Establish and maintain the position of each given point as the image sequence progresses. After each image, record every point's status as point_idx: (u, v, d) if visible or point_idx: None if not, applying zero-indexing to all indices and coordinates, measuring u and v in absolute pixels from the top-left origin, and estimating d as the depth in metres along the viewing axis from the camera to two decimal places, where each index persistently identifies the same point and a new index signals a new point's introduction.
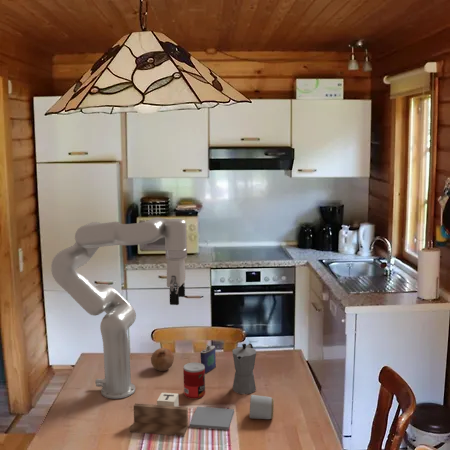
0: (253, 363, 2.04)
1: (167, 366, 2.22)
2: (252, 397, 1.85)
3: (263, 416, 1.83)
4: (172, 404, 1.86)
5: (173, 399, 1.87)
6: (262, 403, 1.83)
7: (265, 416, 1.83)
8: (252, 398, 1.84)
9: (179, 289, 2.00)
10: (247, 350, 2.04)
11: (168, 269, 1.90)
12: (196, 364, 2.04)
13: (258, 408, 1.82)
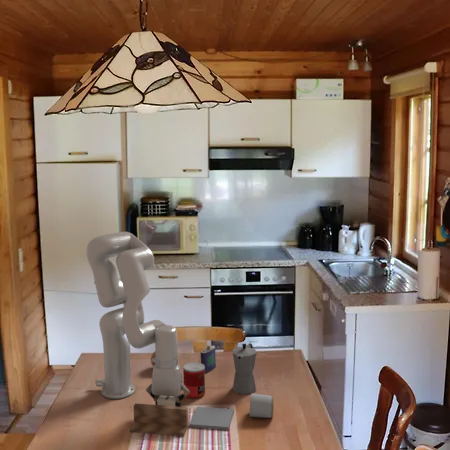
0: (253, 363, 2.04)
1: None
2: (252, 396, 1.86)
3: (263, 415, 1.84)
4: (172, 404, 1.86)
5: (173, 399, 1.87)
6: (262, 402, 1.84)
7: (265, 414, 1.83)
8: (252, 397, 1.85)
9: None
10: (247, 350, 2.04)
11: (179, 377, 1.85)
12: (196, 364, 2.04)
13: (258, 407, 1.83)
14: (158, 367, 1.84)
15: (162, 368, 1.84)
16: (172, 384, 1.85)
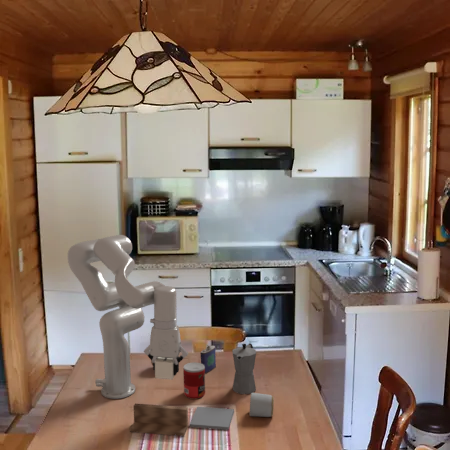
0: (253, 363, 2.04)
1: None
2: (252, 395, 1.86)
3: (263, 414, 1.84)
4: (170, 365, 1.84)
5: (171, 360, 1.85)
6: (262, 401, 1.84)
7: (265, 414, 1.84)
8: (252, 396, 1.86)
9: None
10: (247, 350, 2.04)
11: (177, 338, 1.83)
12: (196, 364, 2.04)
13: (258, 406, 1.84)
14: (156, 327, 1.82)
15: (161, 328, 1.81)
16: (170, 345, 1.83)
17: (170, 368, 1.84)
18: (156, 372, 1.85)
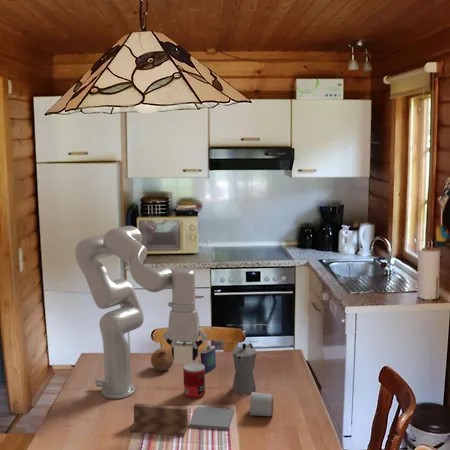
0: (253, 363, 2.04)
1: (167, 366, 2.22)
2: (252, 394, 1.87)
3: (263, 413, 1.85)
4: (189, 349, 1.79)
5: (190, 345, 1.81)
6: (262, 400, 1.85)
7: (265, 413, 1.85)
8: (252, 395, 1.86)
9: None
10: (247, 350, 2.04)
11: (197, 322, 1.79)
12: (196, 364, 2.04)
13: (258, 405, 1.84)
14: (175, 311, 1.78)
15: (179, 312, 1.77)
16: (189, 329, 1.79)
17: (189, 352, 1.80)
18: (175, 357, 1.81)
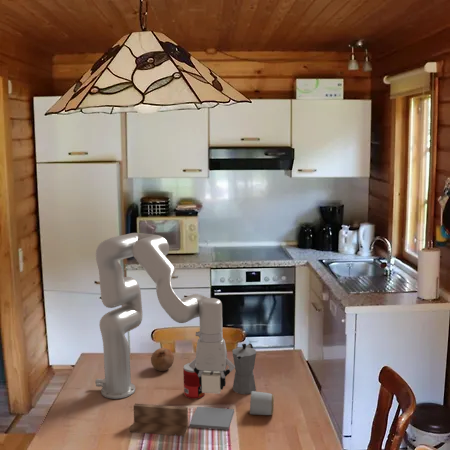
0: (253, 363, 2.04)
1: (167, 366, 2.22)
2: (252, 393, 1.87)
3: (263, 412, 1.85)
4: (217, 379, 1.79)
5: (218, 374, 1.81)
6: (262, 399, 1.86)
7: (266, 412, 1.85)
8: (252, 394, 1.87)
9: None
10: (247, 350, 2.04)
11: (224, 351, 1.79)
12: None
13: (258, 404, 1.85)
14: (203, 341, 1.78)
15: (207, 342, 1.77)
16: (217, 358, 1.79)
17: (217, 382, 1.80)
18: (203, 386, 1.81)
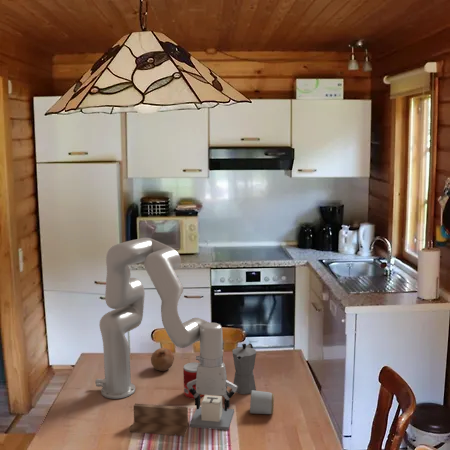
0: (253, 363, 2.04)
1: (167, 366, 2.22)
2: (253, 392, 1.88)
3: (263, 411, 1.86)
4: (217, 407, 1.81)
5: (218, 402, 1.82)
6: (263, 398, 1.86)
7: (266, 411, 1.86)
8: (253, 393, 1.88)
9: (199, 399, 1.85)
10: (247, 350, 2.04)
11: (224, 376, 1.80)
12: (196, 364, 2.04)
13: (258, 403, 1.86)
14: (203, 365, 1.79)
15: (207, 366, 1.79)
16: (217, 383, 1.80)
17: (217, 410, 1.81)
18: (202, 414, 1.82)
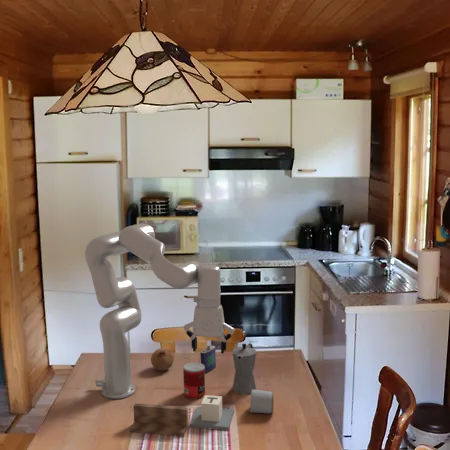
0: (253, 363, 2.04)
1: (167, 366, 2.22)
2: (253, 392, 1.89)
3: (263, 410, 1.87)
4: (217, 407, 1.81)
5: (218, 402, 1.82)
6: (263, 397, 1.87)
7: (266, 410, 1.86)
8: (253, 392, 1.88)
9: (195, 342, 1.85)
10: (247, 350, 2.04)
11: (221, 318, 1.80)
12: (196, 364, 2.04)
13: (258, 402, 1.86)
14: (200, 306, 1.79)
15: (205, 307, 1.78)
16: (214, 324, 1.80)
17: (217, 410, 1.81)
18: (202, 414, 1.82)
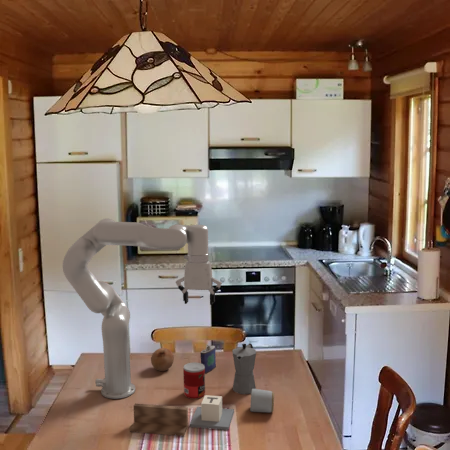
0: (253, 363, 2.04)
1: (167, 366, 2.22)
2: (253, 391, 1.89)
3: (263, 409, 1.87)
4: (217, 407, 1.81)
5: (218, 402, 1.82)
6: (263, 397, 1.87)
7: (266, 409, 1.87)
8: (253, 392, 1.89)
9: (187, 295, 2.04)
10: (247, 350, 2.04)
11: (210, 272, 1.99)
12: (196, 364, 2.04)
13: (259, 401, 1.87)
14: (190, 262, 1.99)
15: (194, 262, 1.98)
16: (203, 278, 1.99)
17: (217, 410, 1.81)
18: (202, 414, 1.82)
